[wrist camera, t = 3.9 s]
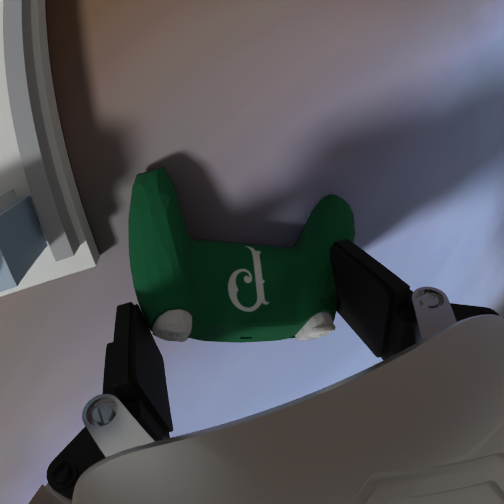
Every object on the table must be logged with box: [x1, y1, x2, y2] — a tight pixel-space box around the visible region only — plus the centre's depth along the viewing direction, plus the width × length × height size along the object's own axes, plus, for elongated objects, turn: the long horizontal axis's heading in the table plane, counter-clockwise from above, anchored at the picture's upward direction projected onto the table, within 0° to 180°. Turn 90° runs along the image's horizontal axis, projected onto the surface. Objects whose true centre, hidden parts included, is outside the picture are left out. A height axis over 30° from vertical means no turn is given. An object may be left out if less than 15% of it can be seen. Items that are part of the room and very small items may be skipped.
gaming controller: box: [129, 167, 355, 342], centre depth 12 cm, size 9×4×6 cm
